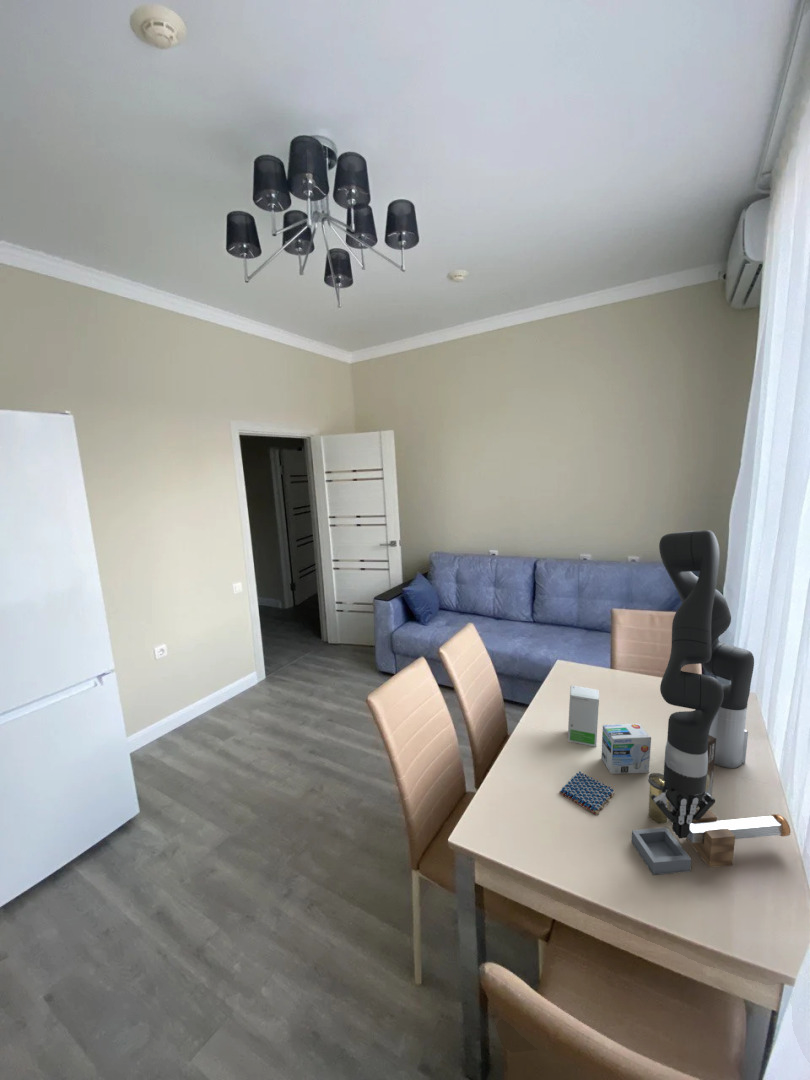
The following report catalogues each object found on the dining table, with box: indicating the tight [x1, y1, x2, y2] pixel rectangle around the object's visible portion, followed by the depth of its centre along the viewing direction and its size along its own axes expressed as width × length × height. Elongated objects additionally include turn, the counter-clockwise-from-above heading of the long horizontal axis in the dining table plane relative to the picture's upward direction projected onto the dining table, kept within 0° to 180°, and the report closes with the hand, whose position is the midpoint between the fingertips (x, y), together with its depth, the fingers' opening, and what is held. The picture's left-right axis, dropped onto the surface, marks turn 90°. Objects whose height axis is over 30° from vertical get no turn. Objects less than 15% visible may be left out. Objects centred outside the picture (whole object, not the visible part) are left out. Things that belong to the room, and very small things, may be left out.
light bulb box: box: [600, 722, 652, 775], centre depth 122 cm, size 11×7×11 cm, turn 90°
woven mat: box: [559, 770, 615, 815], centre depth 113 cm, size 10×11×2 cm
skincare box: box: [567, 684, 600, 748], centre depth 134 cm, size 8×7×16 cm
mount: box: [686, 809, 736, 868], centre depth 95 cm, size 5×7×7 cm
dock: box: [630, 826, 692, 876], centre depth 95 cm, size 8×8×3 cm
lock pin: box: [686, 813, 792, 843], centre depth 95 cm, size 21×4×4 cm, turn 93°
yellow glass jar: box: [647, 772, 670, 825], centre depth 104 cm, size 5×5×10 cm
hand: (680, 834), depth 94 cm, fingers closed
